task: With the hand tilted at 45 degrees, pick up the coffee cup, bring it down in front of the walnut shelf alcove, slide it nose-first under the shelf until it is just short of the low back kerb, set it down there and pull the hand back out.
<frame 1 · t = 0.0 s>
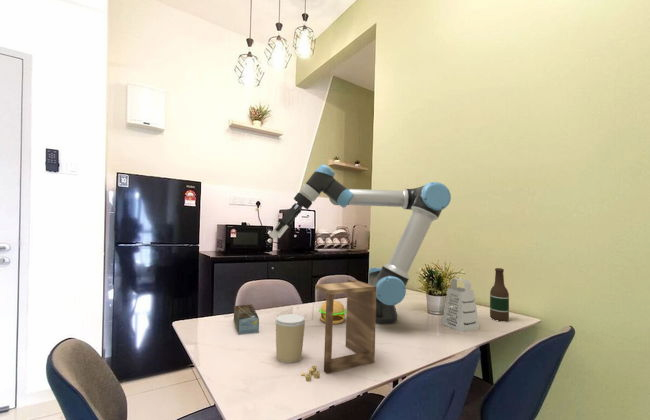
hand: (274, 237, 125), 36 cm above the table, tool tilted 35°, fingers open, 13 cm apart
grater: (460, 326, 130), on the table
shelf alcove: (337, 358, 94), on the table
beverage carton: (245, 327, 121), on the table
coffee cup: (288, 357, 93), on the table
beer bottle: (499, 319, 142), on the table
dice set: (311, 379, 82), on the table
hamburger: (332, 321, 131), on the table
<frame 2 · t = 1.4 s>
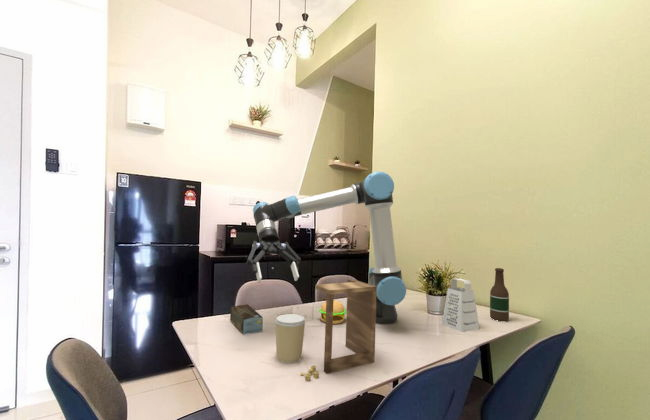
hand: (279, 279, 104), 22 cm above the table, tool tilted 45°, fingers open, 13 cm apart
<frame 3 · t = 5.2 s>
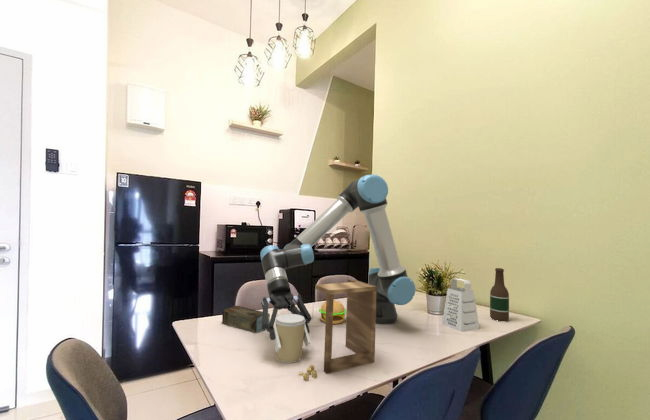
hand: (293, 346, 91), 4 cm above the table, tool tilted 45°, fingers closed on coffee cup, 9 cm apart
coffee cup: (288, 357, 93), on the table, touching gripper
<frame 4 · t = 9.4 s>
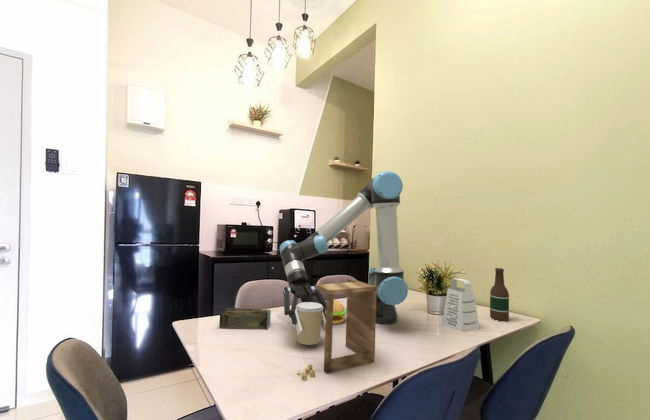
hand: (313, 330, 101), 6 cm above the table, tool tilted 45°, fingers closed on coffee cup, 9 cm apart
coffee cup: (308, 341, 104), point 1 cm above the table, touching gripper
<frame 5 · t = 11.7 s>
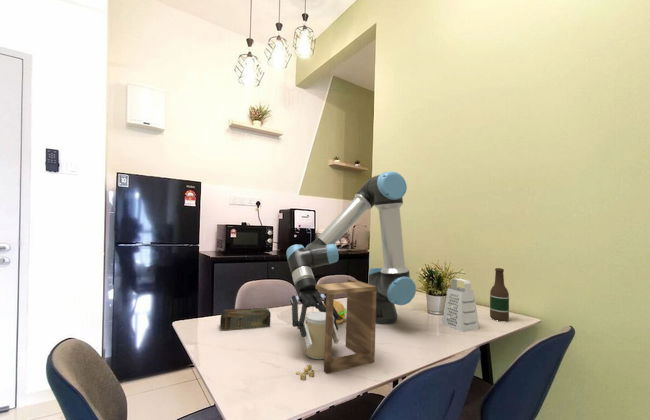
hand: (323, 343, 93), 5 cm above the table, tool tilted 45°, fingers closed on coffee cup, 9 cm apart
coffee cup: (318, 354, 96), on the table, touching gripper
when the fingers open (4 cm above the table, at t = 13.8 s): coffee cup stays where it is, on the table.
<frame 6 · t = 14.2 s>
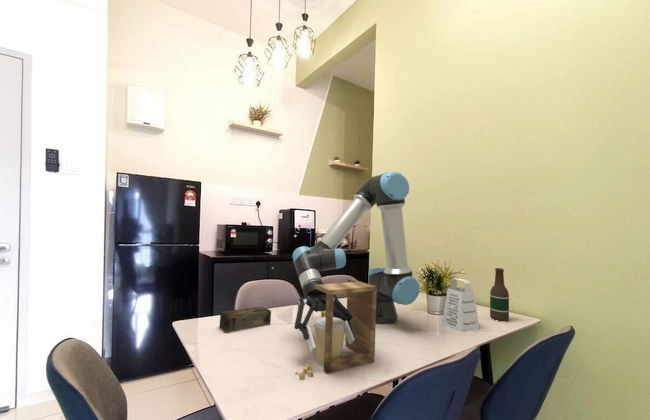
hand: (333, 345, 90), 5 cm above the table, tool tilted 45°, fingers open, 13 cm apart
coffee cup: (328, 361, 92), on the table
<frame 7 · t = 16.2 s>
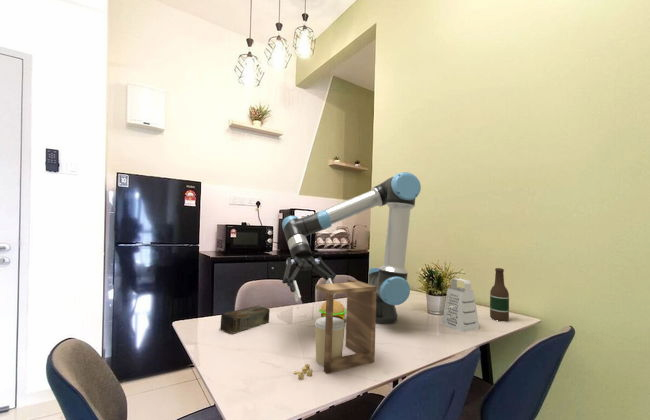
hand: (317, 297, 101), 17 cm above the table, tool tilted 45°, fingers open, 13 cm apart
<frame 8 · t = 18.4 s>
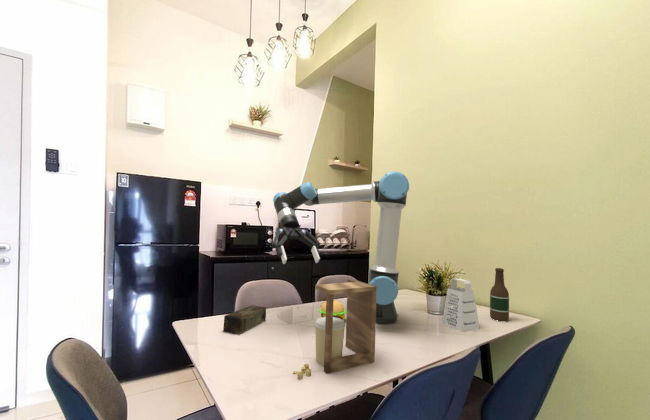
hand: (302, 261, 112), 28 cm above the table, tool tilted 45°, fingers open, 13 cm apart
at the end: coffee cup inside the target area (0.1 cm from its centre), on the table; coffee cup tilted 0°; the gripper is holding nothing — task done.
